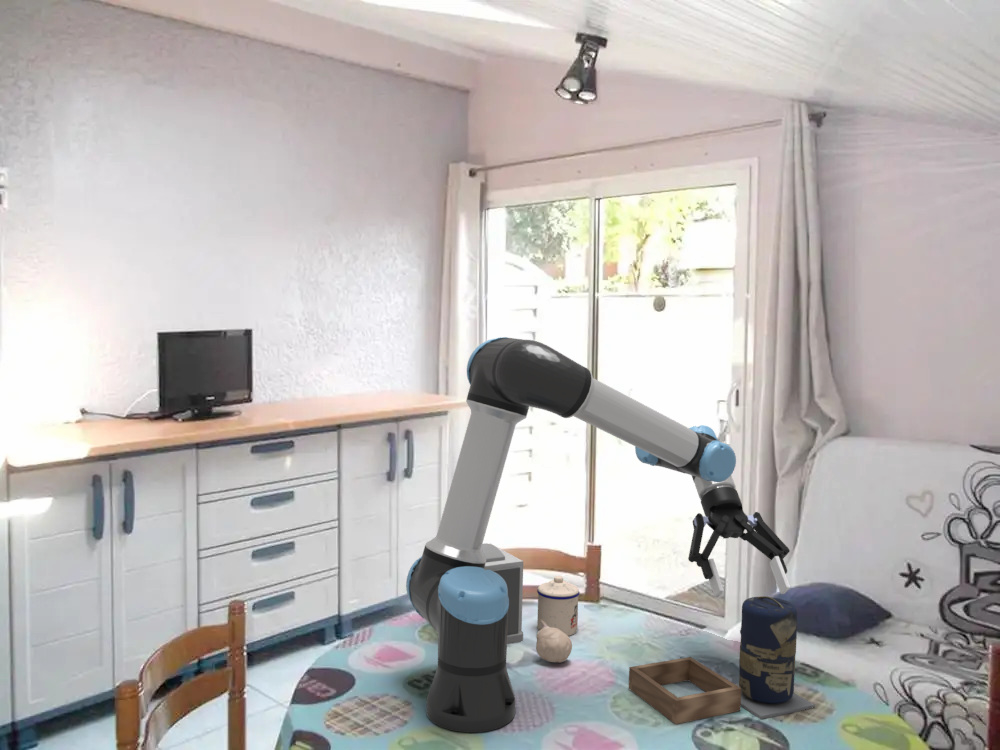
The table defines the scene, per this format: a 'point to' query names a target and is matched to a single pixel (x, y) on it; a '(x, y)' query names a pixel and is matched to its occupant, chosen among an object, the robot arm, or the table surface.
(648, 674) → the holder
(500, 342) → the robot arm
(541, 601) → the teacup with lid
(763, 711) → the mat
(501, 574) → the alarm clock
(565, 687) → the table surface
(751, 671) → the canister
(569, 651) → the garlic bulb
